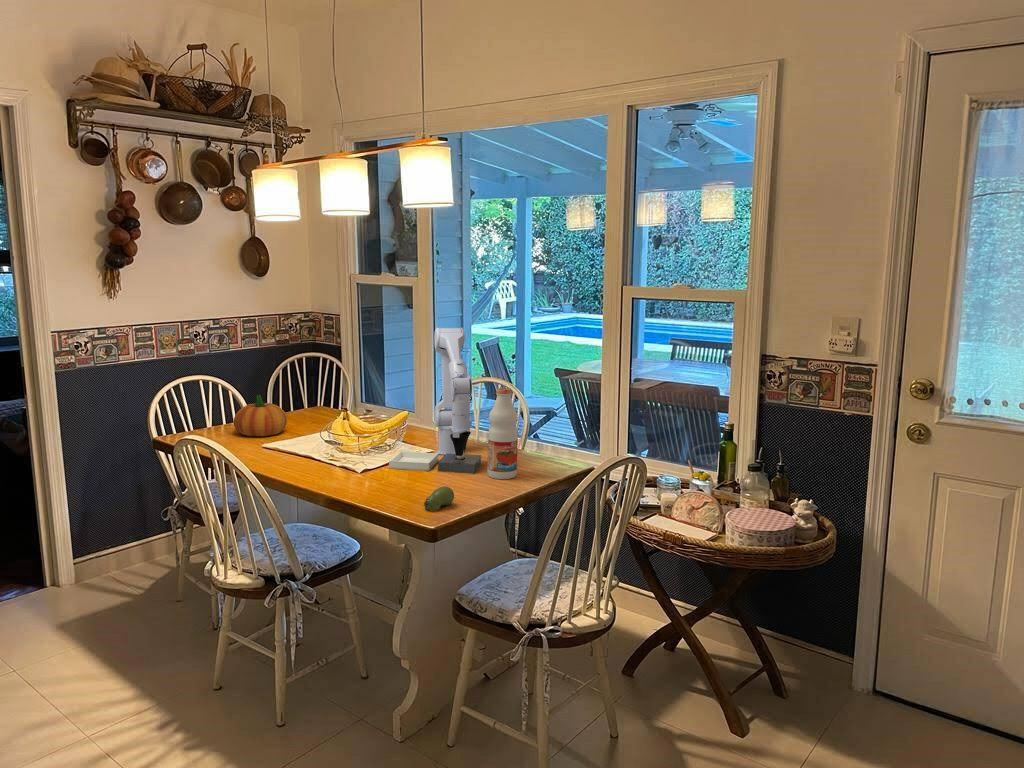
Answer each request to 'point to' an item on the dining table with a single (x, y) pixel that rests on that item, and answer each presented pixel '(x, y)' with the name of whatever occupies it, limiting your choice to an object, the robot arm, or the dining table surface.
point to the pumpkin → (260, 419)
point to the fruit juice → (502, 437)
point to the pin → (460, 457)
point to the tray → (413, 461)
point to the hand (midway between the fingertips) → (460, 454)
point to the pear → (439, 498)
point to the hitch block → (459, 463)
